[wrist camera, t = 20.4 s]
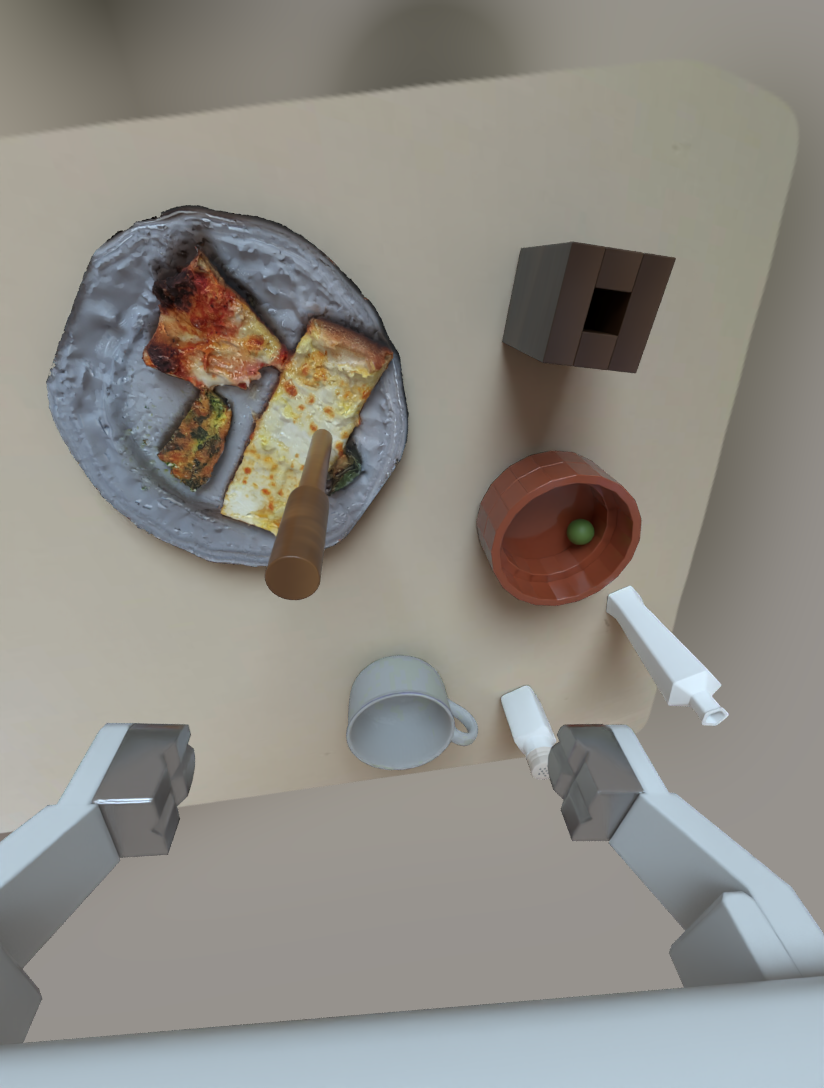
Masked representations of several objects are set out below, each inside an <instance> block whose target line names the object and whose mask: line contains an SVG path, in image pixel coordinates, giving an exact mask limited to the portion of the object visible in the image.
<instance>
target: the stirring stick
mask: <svg viewBox="0 0 824 1088" xmlns="http://www.w3.org/2000/svg"><path fill="white" fill-rule="evenodd" d="M332 442H333V437H332V435H331V433H330V432H329V431H328V430H325V429H318V430H316V431H315V432H314V433H313V436H312V439H311V443H310V446H309V450H308V454H307V457H306V461H305V464H304V468H303V472H302V475H301V479H300V482H299V486H298V487H297V488H295V489H294V490H293V491H292V492H291V493H290V495H289V497H288V500H287V503H286V506H285V510H284V513H283V516H282V519H281V522H280V526H279V529H278V532H277V535H276V539H275V542H274V545H273V548H272V552H271V555H270V558H269V561H268V565H267V568H266V571H265V581H266V584H267V586H268V587H269V589H270V590H271V591H272V592H273V593H274V594H276V595H277V596H279V597H281V598H284V599H288V600H300V599H304V598H307V597H309V596H310V595H312V594H313V593H314V592H315V591H316V590H317V589H318V587H319V585H320V580H321V572H322V563H323V555H324V547H325V539H326V531H327V523H328V515H329V506H330V504H329V499H328V497H327V495H326V494H325V489H326V482H327V475H328V469H329V462H330V455H331V449H332Z"/></svg>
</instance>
